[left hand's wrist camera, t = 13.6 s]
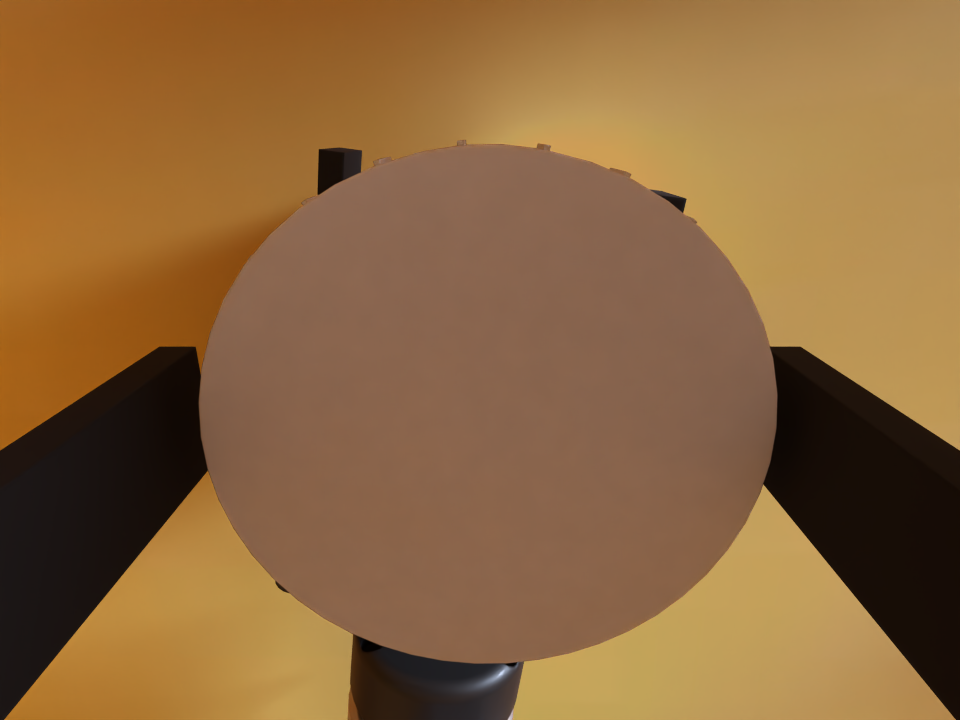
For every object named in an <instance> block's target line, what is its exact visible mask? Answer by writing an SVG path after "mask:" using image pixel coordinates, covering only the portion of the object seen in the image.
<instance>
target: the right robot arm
mask: <svg viewBox="0 0 960 720" xmlns="http://www.w3.org/2000/svg"><path fill="white" fill-rule="evenodd" d="M361 159H362V151H361V150H354V149H347V148H328V149H319V163H318V195H320V194H321V193H323V192H324V191H326V190H327V189H329V188H330V187H332V186H333V185H335V184H337V183H339V182H341V181H343V180H346V179H348V178H350V177H352V176H354V175H356V174H358V173H360V172H361ZM649 190H650V189H649ZM651 191H652V192H654V193H656V194H657V195H659V196H661V197H662V198H664V199H666V200H667V201H669V202H670V203H671V204H672V205H674V206H675V207H676V208H677V209H678V210H680V211H681V212H682V213H683V211H684V207H685V203H686V199H685V198H682V197H679V196H676V195H672V194H669V193H666V192H663V191H657V190H651ZM275 582H276V585H277V586H278V588H280V589H281V590H282V591H284V592H287V593H289V592H288V591H287V590H286V589H285V588H283V587H282V586H281V585H280V584H279V583H278V582H277V581H275ZM523 664H524V661H522V662H513V663H464V662H453V661H442V660H437V659H432V658H427V657H421V656H416V655H411V654H408V653H405V652H401V651H398V650H394V649H391V648H388V647H384V646H381V645H379V644H376V643H374V642H371V641H369V640H367V639H364V638H362V637H359V636H357V635H355V634H353V645H352V660H351V676H350V685H351V688H350V692H349V703H348V720H512V719H513V708H514V705H515V702H516V698H517V693H518V688H519V683H520V678H521V674H522V669H523Z"/></svg>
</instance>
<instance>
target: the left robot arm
mask: <svg viewBox="0 0 960 720" xmlns="http://www.w3.org/2000/svg"><path fill="white" fill-rule="evenodd" d="M770 349H771V353H772V356H773V362H774V370H775V379H776V387H777V423H776V433H775V439H774V445H773V450H772V456H771V461H770V465H769V468H768V471H767V474H766V477H765V480H764V483H763V484H764V486H765V487H766V488H767V489H768V490H769V492H770V493H771V494H772V495H773V497H774V498H775V499H776V500H777V501H778V503H779V504H780V505H781V506H782V508H783V509H784V510H785V511H786V512H787V514H788V515H789V516H790V517H791V519H792V520H793V521H794V522H795V524H796V525H797V526H798V527H799V528H800V530H801V531H802V532H803V533H804V535H805V536H806V537H807V538H808V539H809V541H810V542H811V543H812V544H813V546H814V547H815V548H816V549H817V550H818V552H819V553H820V554H821V555H822V557H823V558H824V559H825V560H826V561H827V563H828V564H829V565H830V566H831V568H832V569H833V570H834V571H835V572H836V574H837V575H838V576H839V577H840V579H841V580H842V581H843V582H844V583H845V585H846V586H847V587H848V588H849V590H850V591H851V592H852V593H853V594H854V596H855V597H856V598H857V599H858V601H859V602H860V603H861V604H862V605H863V607H864V608H865V609H866V610H867V612H868V613H869V614H870V615H871V616H872V618H873V619H874V620H875V621H876V623H877V624H878V625H879V626H880V627H881V629H882V630H883V631H884V632H885V634H886V635H887V636H888V637H889V638H890V640H891V641H892V642H893V643H894V645H895V646H896V647H897V648H898V649H899V651H900V652H901V653H902V654H903V656H904V657H905V658H906V659H907V660H908V662H909V663H910V664H911V665H912V667H913V668H914V669H915V670H916V671H917V673H918V674H919V675H920V676H921V678H922V679H923V680H924V681H925V682H926V684H927V685H928V686H929V687H930V689H931V690H932V691H933V692H934V693H935V695H936V696H937V697H938V698H939V700H940V701H941V702H942V703H943V704H944V706H945V707H946V708H947V709H948V711H949V712H950V713H951V714H952V715H953V717H954V718H955V719H956V720H960V451H959V450H958V449H956V448H955V447H953V446H952V445H950V444H949V443H947V442H946V441H944V440H943V439H941V438H939V437H938V436H936V435H935V434H933V433H932V432H930V431H929V430H927V429H926V428H924V427H923V426H921V425H920V424H918V423H916V422H915V421H913V420H912V419H910V418H909V417H907V416H906V415H904V414H903V413H901V412H900V411H898V410H897V409H895V408H894V407H892V406H890V405H889V404H887V403H886V402H884V401H883V400H881V399H880V398H878V397H877V396H875V395H874V394H872V393H871V392H869V391H867V390H866V389H864V388H863V387H861V386H860V385H858V384H857V383H855V382H854V381H852V380H851V379H849V378H848V377H846V376H844V375H843V374H841V373H840V372H838V371H837V370H835V369H834V368H832V367H831V366H829V365H828V364H826V363H825V362H823V361H821V360H820V359H818V358H817V357H815V356H814V355H812V354H811V353H809V352H808V351H806V350H805V349H803V348H802V347H770ZM200 381H201V374H200V368H199V363H198V357H197V351H196V347H158V348H157V349H155V350H154V351H152V352H151V353H149V354H148V355H146V356H145V357H143V358H142V359H140V360H139V361H137V362H135V363H134V364H132V365H131V366H129V367H128V368H126V369H125V370H123V371H122V372H120V373H119V374H117V375H116V376H114V377H112V378H111V379H109V380H108V381H106V382H105V383H103V384H102V385H100V386H99V387H97V388H96V389H94V390H93V391H91V392H89V393H88V394H86V395H85V396H83V397H82V398H80V399H79V400H77V401H76V402H74V403H73V404H71V405H70V406H68V407H66V408H65V409H63V410H62V411H60V412H59V413H57V414H56V415H54V416H53V417H51V418H50V419H48V420H47V421H45V422H44V423H42V424H40V425H39V426H37V427H36V428H34V429H33V430H31V431H30V432H28V433H27V434H25V435H24V436H22V437H21V438H19V439H17V440H16V441H14V442H13V443H11V444H10V445H8V446H7V447H5V448H4V449H2V450H1V451H0V720H4V719H5V718H6V717H7V715H8V714H9V713H10V712H11V711H12V709H13V708H14V707H15V706H16V704H17V703H18V702H19V701H20V700H21V698H22V697H23V696H24V695H25V693H26V692H27V691H28V690H29V689H30V687H31V686H32V685H33V684H34V682H35V681H36V680H37V679H38V678H39V676H40V675H41V674H42V673H43V671H44V670H45V669H46V668H47V667H48V665H49V664H50V663H51V662H52V660H53V659H54V658H55V657H56V656H57V654H58V653H59V652H60V651H61V649H62V648H63V647H64V646H65V645H66V643H67V642H68V641H69V640H70V638H71V637H72V636H73V635H74V634H75V632H76V631H77V630H78V629H79V627H80V626H81V625H82V624H83V623H84V621H85V620H86V619H87V618H88V616H89V615H90V614H91V613H92V612H93V610H94V609H95V608H96V607H97V605H98V604H99V603H100V602H101V601H102V599H103V598H104V597H105V596H106V594H107V593H108V592H109V591H110V590H111V588H112V587H113V586H114V585H115V583H116V582H117V581H118V580H119V579H120V577H121V576H122V575H123V574H124V572H125V571H126V570H127V569H128V568H129V566H130V565H131V564H132V563H133V561H134V560H135V559H136V558H137V557H138V555H139V554H140V553H141V552H142V550H143V549H144V548H145V547H146V546H147V544H148V543H149V542H150V541H151V539H152V538H153V537H154V536H155V535H156V533H157V532H158V531H159V530H160V528H161V527H162V526H163V525H164V524H165V522H166V521H167V520H168V519H169V517H170V516H171V515H172V514H173V512H174V511H175V510H176V509H177V508H178V506H179V505H180V504H181V503H182V501H183V500H184V499H185V498H186V497H187V495H188V494H189V493H190V492H191V490H192V489H193V488H194V487H195V486H196V484H197V483H198V482H199V481H200V479H201V478H202V477H203V476H204V475H205V473H206V472H207V471H208V468H207V464H206V459H205V454H204V449H203V445H202V440H201V431H200V415H199V393H200Z"/></svg>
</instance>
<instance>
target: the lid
mask: <svg viewBox="0 0 960 720" xmlns="http://www.w3.org/2000/svg"><path fill="white" fill-rule="evenodd" d="M550 147H551V146H550V145H545V144H538V145H537V148H530V147H522V146H514V145H505V144H478V145H466V140H459V141H457V146H453V147H446V148H440V149H434V150H428V151H423V152H419V153H415V154H412V155H409V156H405V157H402V158H399V159H396V160H392V159H391V157H387V158H382V159H378V160H375V161H373V163H374V165H375V166H373V167H371V168H369V169H367V170H365V171H362V172H360V173H358V174H356V175H354V176H352V177H350V178H348V179H346V180H343V181H341V182H339V183H337V184H335V185H333V186H332V187H330V188H329V189H327V190H326V191H324V192H323V193H321V194H320V195H317V196H314V197H311V198H309V199H306V200H304V201H303V202H302V205H303V206H302V207H300V208H299V209H298V210H296V211H295V212H294V213H293V214H292V215H291V216H290V217H289V218H288V219H286V220H285V221H284V222H283V223H282V224H281V225H280V226H279V227H277V228H276V229H275V230H274V231H273V232H272V233H271V234H270V235H269V236H268V237H267V238H266V239H265V240H264V242H263V243H262V244H261V245H260V247H259V248H258V249H257V250H256V251H255V253H254V254H253V255H251V256H250V257H249V259H248V261H247V262H246V263H245V265H244V266H243V268H242V269H241V271H240V273H239V274H238V276H237V278H236V279H235V281H234V283H233V284H232V286H231V288H230V289H229V291H228V293H227V294H226V296H225V298H224V300H223V302H222V305H221V307H220V309H219V312H218V314H217V317H216V319H215V322H214V324H213V327H212V329H211V331H210V335H209V339H208V343H207V347H206V352H205V356H204V360H203V364H202V370H201V381H200V393H199V415H200V431H201V440H202V445H203V449H204V454H205V459H206V464H207V468H208V471H209V474H210V477H211V480H212V483H213V485H214V488H215V491H216V494H217V496H218V499H219V501H220V503H221V505H222V507H223V509H224V511H225V513H226V515H227V517H228V519H229V520H230V522H231V524H232V526H233V528H234V530H235V531H236V533H237V534H238V535H239V537H240V538H241V540H242V541H243V543H244V544H245V545H246V547H247V548H248V550H249V551H250V553H251V554H252V555H253V557H254V558H255V559H256V560H257V561H258V562H259V563H260V564H261V565H262V567H263V568H264V569H265V570H266V571H267V572H268V573H269V574H270V575H271V577H272V578H273V579H274V580H275V581H277V582H278V583H279V584H280V585H281V586H282V587H283V588H285V589H286V590H287V591H288V592H289V593H290V594H291V595H293V596H294V597H295V598H296V599H297V600H298V601H300V602H301V603H303V604H304V605H306V606H307V607H308V608H310V609H311V610H313V611H314V612H316V613H317V614H319V615H320V616H321V617H323V618H324V619H326V620H328V621H330V622H332V623H334V624H335V625H337V626H339V627H341V628H343V629H345V630H347V631H348V632H350V633H352V634H355V635H357V636H359V637H362V638H364V639H367V640H369V641H371V642H374V643H376V644H379V645H381V646H384V647H388V648H391V649H394V650H398V651H401V652H405V653H408V654H411V655H416V656H421V657H427V658H432V659H437V660H442V661H453V662H464V663H513V662H522V661H532V660H540V659H544V658H549V657H554V656H559V655H563V654H568V653H572V652H575V651H578V650H581V649H584V648H588V647H591V646H594V645H597V644H600V643H602V642H605V641H607V640H609V639H611V638H614V637H616V636H618V635H621V634H623V633H625V632H628V631H630V630H631V629H633V628H635V627H637V626H638V625H640V624H642V623H644V622H646V621H647V620H649V619H651V618H653V617H654V616H656V615H658V614H659V613H660V612H662V611H663V610H665V609H666V608H667V607H669V606H670V605H671V604H673V603H674V602H676V601H677V600H678V599H680V598H681V597H682V596H684V595H685V594H686V593H687V592H688V591H689V590H690V589H691V588H692V587H693V586H695V585H696V584H697V583H698V582H699V581H700V580H701V579H702V578H703V577H704V576H705V575H707V573H708V572H709V571H710V570H711V569H712V568H713V566H714V565H715V564H716V563H717V562H718V561H719V559H720V558H721V557H722V556H723V555H724V554H725V552H726V551H727V550H728V549H729V547H730V546H731V544H732V543H733V541H734V540H735V538H736V537H737V535H738V534H739V532H740V531H741V529H742V528H743V526H744V525H745V523H746V521H747V519H748V517H749V515H750V513H751V511H752V509H753V507H754V505H755V503H756V501H757V499H758V497H759V494H760V492H761V489H762V486H763V483H764V480H765V477H766V474H767V471H768V468H769V465H770V461H771V456H772V450H773V445H774V439H775V433H776V423H777V387H776V379H775V370H774V362H773V356H772V353H771V349H770V346H769V342H768V338H767V335H766V331H765V328H764V324H763V322H762V320H761V317H760V315H759V313H758V311H757V309H756V306H755V304H754V302H753V300H752V297H751V295H750V293H749V291H748V289H747V287H746V286H745V284H744V283H743V281H742V280H741V278H740V277H739V275H738V274H737V272H736V271H735V269H734V268H733V266H732V264H731V263H730V261H729V260H728V258H727V257H726V256H725V255H724V254H723V252H722V251H721V250H720V249H719V248H718V247H717V246H716V245H715V244H714V242H713V241H712V240H711V239H710V238H709V237H708V236H707V235H706V233H705V232H704V231H703V230H702V229H701V228H700V227H699V226H698V225H697V224H696V223H697V222H696V221H695V220H694V219H693V218H691V217H688V216H686V215H684V214H683V213H682V212H681V211H680V210H678V209H677V208H676V207H675V206H674V205H672V204H671V203H670V202H669V201H667V200H666V199H664V198H662V197H661V196H659V195H657V194H656V193H654V192H652V191H651V190H649V189H647V188H646V187H644V186H643V185H641V184H639V183H638V182H636V181H634V180H633V179H630V176H631V174H630V173H628V172H626V171H622V170H618V169H614V168H610V169H607V168H605V167H602V166H600V165H598V164H595V163H593V162H590V161H586V160H582V159H578V158H574V157H571V156H567V155H563V154H559V153H556V152H552V151H550Z"/></svg>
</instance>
